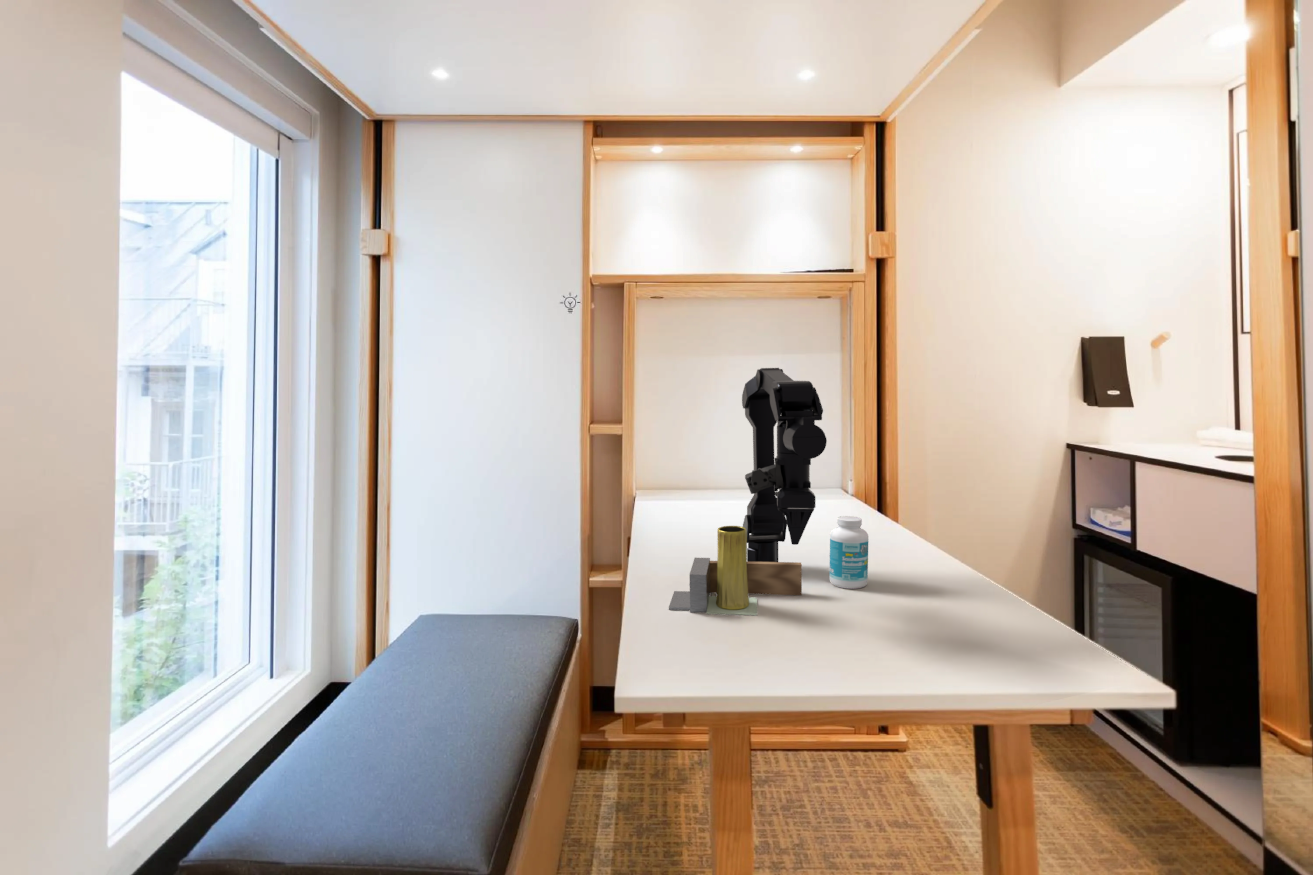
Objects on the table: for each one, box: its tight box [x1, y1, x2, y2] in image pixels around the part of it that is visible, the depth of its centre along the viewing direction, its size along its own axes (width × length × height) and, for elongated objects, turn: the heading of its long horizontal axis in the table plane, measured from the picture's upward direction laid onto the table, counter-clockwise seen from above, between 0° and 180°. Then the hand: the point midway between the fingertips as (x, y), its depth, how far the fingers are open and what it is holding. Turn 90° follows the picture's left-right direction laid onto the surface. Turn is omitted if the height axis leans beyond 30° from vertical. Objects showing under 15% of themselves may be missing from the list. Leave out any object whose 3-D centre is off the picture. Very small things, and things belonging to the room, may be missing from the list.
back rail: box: [710, 560, 803, 596], centre depth 130 cm, size 20×2×6 cm, turn 82°
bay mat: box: [705, 595, 758, 616], centre depth 123 cm, size 9×9×1 cm
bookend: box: [668, 557, 711, 614], centre depth 125 cm, size 7×11×7 cm, turn 172°
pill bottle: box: [828, 515, 869, 590], centre depth 133 cm, size 8×7×14 cm
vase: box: [716, 525, 750, 610], centre depth 122 cm, size 6×6×14 cm
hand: (793, 537), depth 120 cm, fingers open, 9 cm apart
